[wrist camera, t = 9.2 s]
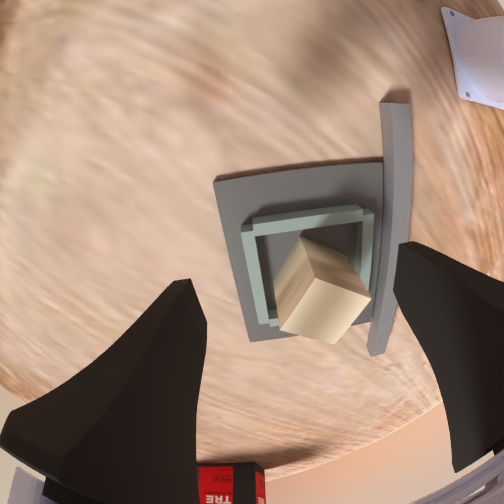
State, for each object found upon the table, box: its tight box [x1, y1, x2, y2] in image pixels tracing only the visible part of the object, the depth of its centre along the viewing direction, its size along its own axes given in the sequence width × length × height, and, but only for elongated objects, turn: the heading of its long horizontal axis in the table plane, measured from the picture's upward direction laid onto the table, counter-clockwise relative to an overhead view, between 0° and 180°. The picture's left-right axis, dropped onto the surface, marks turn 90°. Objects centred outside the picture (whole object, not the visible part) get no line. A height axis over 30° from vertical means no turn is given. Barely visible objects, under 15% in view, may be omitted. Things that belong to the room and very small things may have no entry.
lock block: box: [273, 235, 372, 344], centre depth 17 cm, size 4×4×5 cm
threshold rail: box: [367, 103, 413, 357], centre depth 18 cm, size 2×22×2 cm, turn 9°
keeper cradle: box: [213, 161, 383, 342], centre depth 19 cm, size 11×14×2 cm
